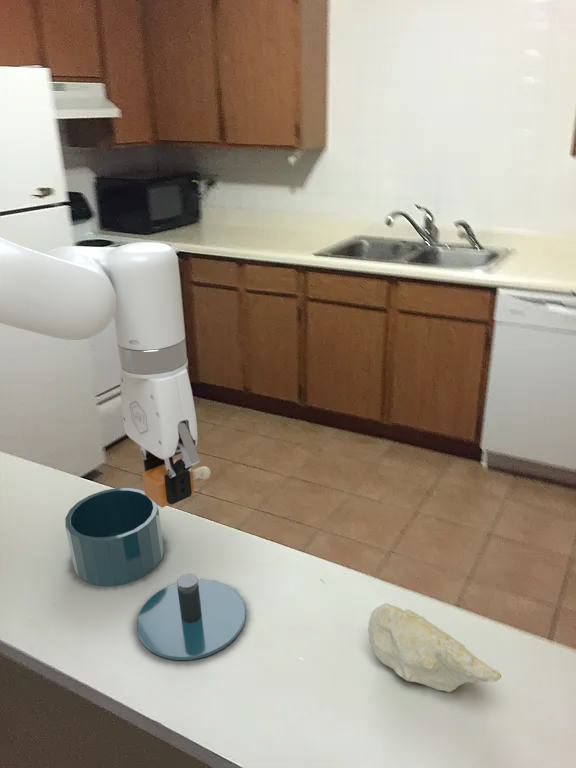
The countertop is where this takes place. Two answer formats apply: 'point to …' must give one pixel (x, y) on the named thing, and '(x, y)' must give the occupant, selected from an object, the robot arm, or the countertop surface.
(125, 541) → the pot
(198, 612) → the lid
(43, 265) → the robot arm
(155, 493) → the orange knobbed cube
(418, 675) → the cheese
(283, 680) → the countertop surface
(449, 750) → the countertop surface
